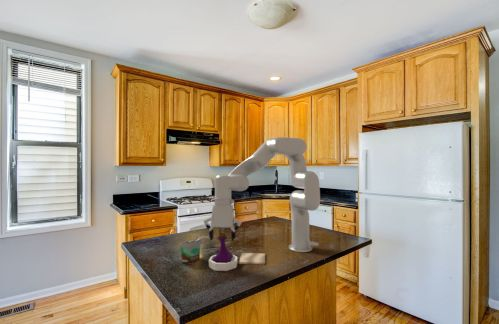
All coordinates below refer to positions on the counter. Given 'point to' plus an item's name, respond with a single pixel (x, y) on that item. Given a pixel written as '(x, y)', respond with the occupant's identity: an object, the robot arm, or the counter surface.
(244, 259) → the coaster board
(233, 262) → the holder ring
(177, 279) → the counter surface
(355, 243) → the counter surface
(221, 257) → the perfume bottle
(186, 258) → the food container
